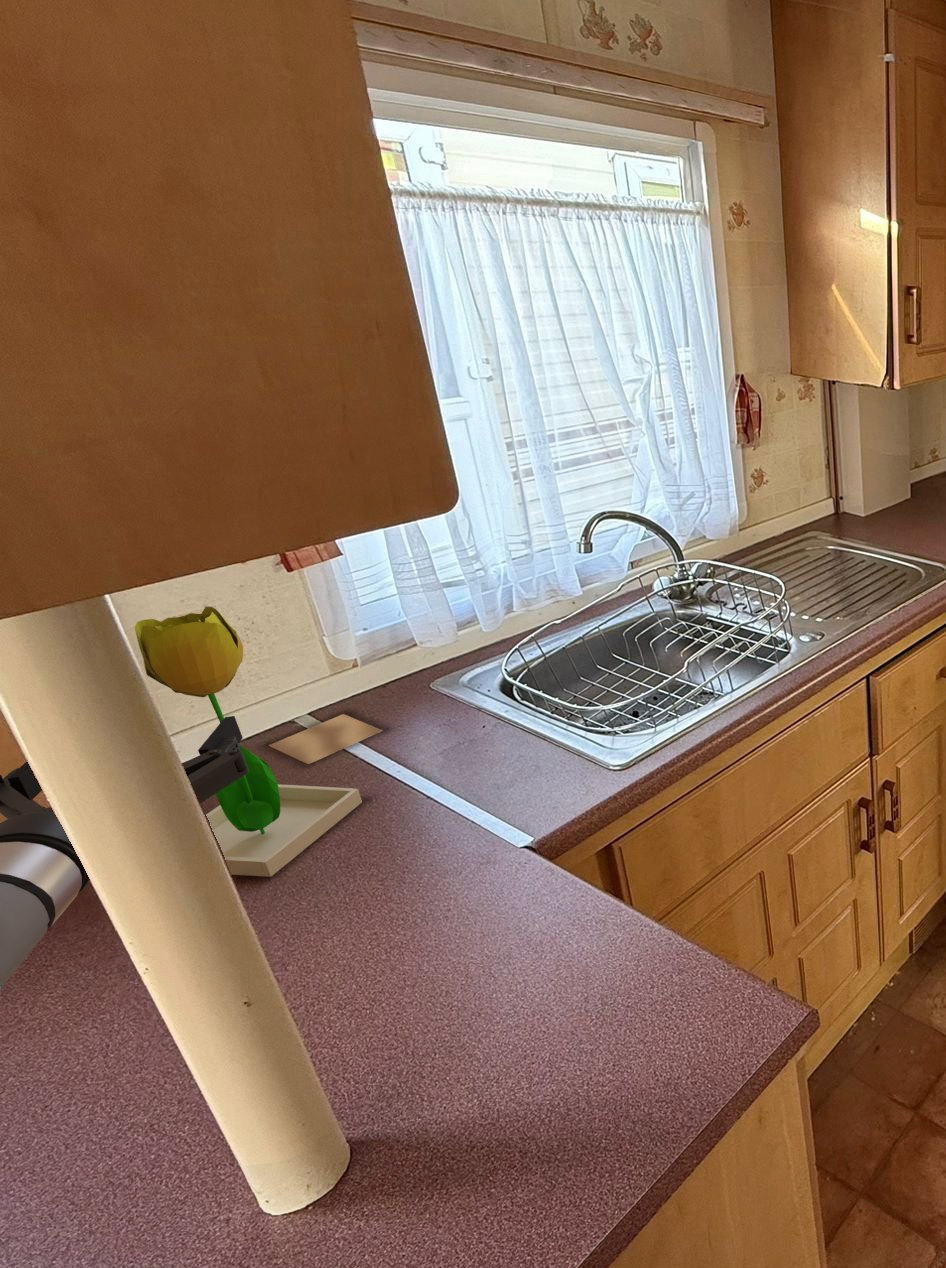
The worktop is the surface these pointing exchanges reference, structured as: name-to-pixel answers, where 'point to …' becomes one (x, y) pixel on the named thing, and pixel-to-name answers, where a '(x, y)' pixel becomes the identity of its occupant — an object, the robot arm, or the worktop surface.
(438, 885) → the worktop surface
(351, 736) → the cork mat
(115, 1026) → the worktop surface
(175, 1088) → the worktop surface
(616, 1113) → the worktop surface
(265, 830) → the baking tray
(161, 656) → the flower
